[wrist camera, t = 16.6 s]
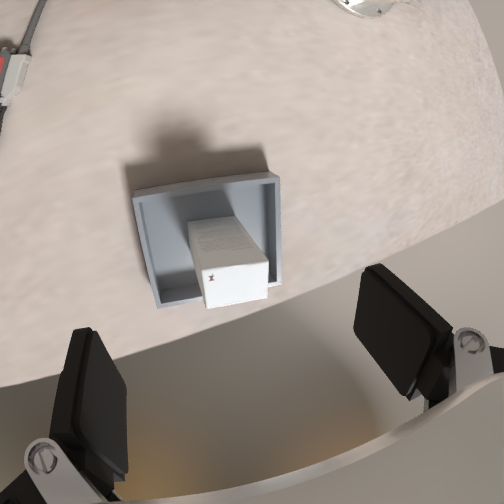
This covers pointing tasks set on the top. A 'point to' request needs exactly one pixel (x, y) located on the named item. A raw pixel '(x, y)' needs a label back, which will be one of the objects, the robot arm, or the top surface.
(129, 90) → the top surface
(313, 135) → the top surface
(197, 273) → the skincare box
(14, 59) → the walkie-talkie
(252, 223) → the tray
